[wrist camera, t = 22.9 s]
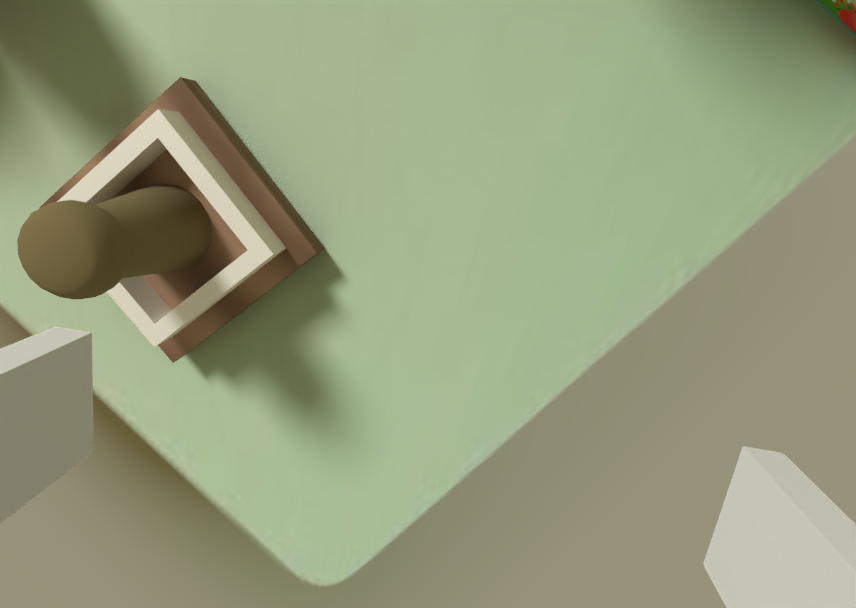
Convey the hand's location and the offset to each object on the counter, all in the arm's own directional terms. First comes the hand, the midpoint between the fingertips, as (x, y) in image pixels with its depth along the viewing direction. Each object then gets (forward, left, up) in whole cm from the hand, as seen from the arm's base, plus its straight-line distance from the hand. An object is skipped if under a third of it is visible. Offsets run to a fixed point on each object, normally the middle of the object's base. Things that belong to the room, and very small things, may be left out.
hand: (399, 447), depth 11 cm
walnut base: (+15, -12, -29) cm, 35 cm away
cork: (+15, -12, -27) cm, 33 cm away
